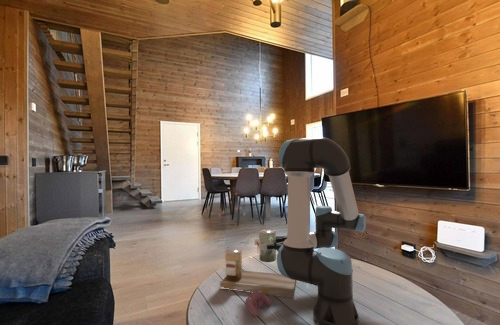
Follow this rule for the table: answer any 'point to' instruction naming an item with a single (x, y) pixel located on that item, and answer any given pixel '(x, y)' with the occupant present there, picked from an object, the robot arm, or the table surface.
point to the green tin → (266, 237)
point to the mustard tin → (233, 264)
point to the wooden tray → (263, 283)
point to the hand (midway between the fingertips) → (257, 244)
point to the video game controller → (257, 297)
